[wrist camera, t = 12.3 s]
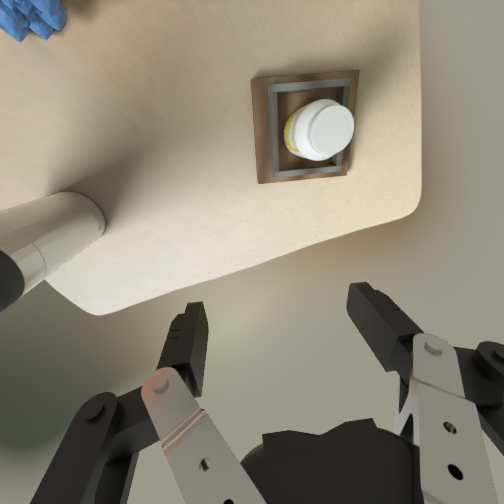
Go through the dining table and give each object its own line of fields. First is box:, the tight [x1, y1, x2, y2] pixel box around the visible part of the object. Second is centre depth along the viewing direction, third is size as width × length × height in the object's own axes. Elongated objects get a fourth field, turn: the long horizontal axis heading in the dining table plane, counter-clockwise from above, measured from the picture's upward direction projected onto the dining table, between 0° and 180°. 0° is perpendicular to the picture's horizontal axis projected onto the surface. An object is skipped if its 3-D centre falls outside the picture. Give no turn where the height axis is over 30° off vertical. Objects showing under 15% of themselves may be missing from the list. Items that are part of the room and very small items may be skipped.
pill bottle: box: [283, 99, 354, 161], centre depth 28 cm, size 6×6×12 cm
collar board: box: [251, 70, 359, 184], centre depth 33 cm, size 15×14×4 cm
